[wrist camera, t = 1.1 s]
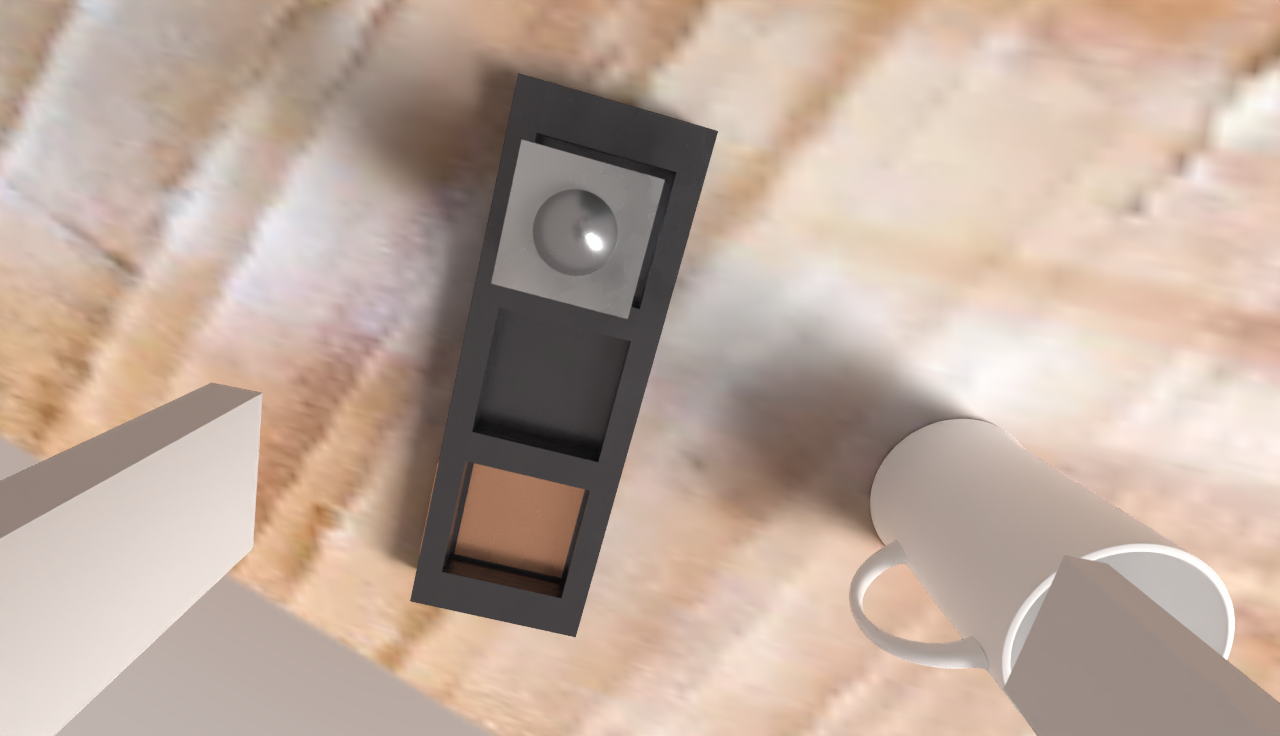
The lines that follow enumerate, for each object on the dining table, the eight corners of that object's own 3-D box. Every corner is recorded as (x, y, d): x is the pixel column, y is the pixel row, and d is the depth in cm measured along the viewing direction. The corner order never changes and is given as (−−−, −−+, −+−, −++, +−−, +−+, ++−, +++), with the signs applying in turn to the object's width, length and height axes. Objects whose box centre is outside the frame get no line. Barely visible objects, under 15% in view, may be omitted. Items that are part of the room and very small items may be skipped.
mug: (823, 596, 35) (919, 791, 24) (794, 455, 33) (884, 593, 21) (1038, 546, 35) (1245, 721, 23) (1022, 399, 32) (1243, 510, 21)
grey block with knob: (554, 158, 28) (519, 137, 19) (653, 186, 29) (665, 179, 19) (531, 258, 29) (488, 285, 20) (627, 284, 30) (627, 321, 20)
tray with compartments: (525, 83, 28) (515, 72, 26) (711, 137, 29) (719, 131, 27) (423, 572, 34) (408, 600, 32) (580, 607, 35) (576, 637, 33)
